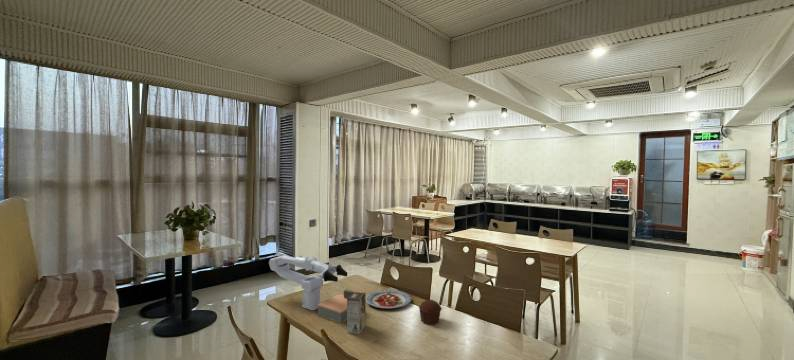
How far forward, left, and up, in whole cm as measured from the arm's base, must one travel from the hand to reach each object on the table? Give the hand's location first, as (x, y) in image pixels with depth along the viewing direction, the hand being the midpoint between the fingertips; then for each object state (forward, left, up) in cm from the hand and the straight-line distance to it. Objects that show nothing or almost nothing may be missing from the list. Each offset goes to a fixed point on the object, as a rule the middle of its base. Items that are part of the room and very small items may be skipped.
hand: (342, 277), depth 172 cm
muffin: (+41, +20, -20) cm, 50 cm away
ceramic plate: (+10, +28, -20) cm, 36 cm away
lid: (-2, +1, -15) cm, 15 cm away
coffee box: (+16, -7, -20) cm, 27 cm away
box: (-2, +1, -20) cm, 20 cm away
